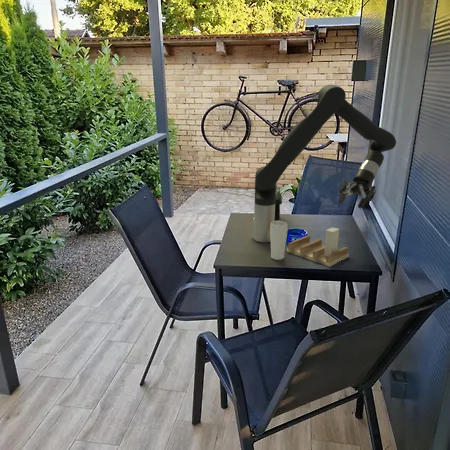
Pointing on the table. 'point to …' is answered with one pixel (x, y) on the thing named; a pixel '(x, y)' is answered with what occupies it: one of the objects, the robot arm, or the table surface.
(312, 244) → the ridged wooden tray
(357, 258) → the table surface
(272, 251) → the drinking glass
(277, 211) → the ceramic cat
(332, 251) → the cream rectangular block
